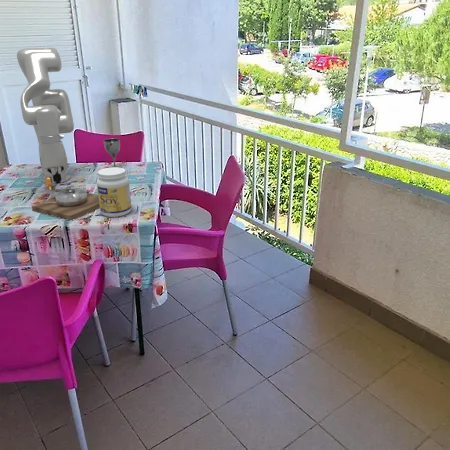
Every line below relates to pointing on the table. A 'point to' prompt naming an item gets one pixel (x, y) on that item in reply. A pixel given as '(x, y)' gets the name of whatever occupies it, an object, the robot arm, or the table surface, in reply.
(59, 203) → the silver and gold piece
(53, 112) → the robot arm
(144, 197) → the table surface
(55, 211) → the nut board
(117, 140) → the wine glass
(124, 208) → the supplement tub
